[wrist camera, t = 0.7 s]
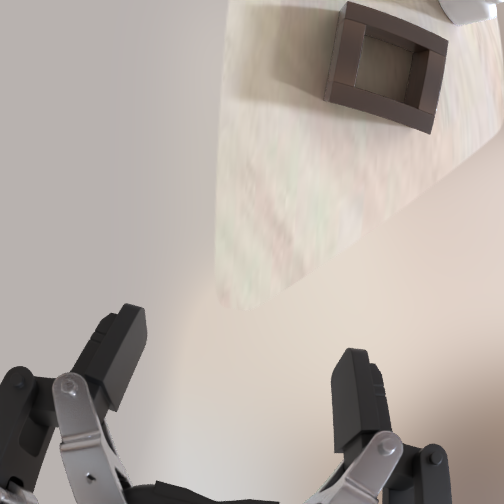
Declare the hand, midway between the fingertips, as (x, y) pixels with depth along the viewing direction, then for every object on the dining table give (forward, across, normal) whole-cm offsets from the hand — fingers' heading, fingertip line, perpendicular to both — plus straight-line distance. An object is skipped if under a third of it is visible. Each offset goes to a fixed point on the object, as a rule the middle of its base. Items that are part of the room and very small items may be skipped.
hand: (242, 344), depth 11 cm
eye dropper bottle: (+28, -18, -27) cm, 43 cm away
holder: (+27, -10, -14) cm, 32 cm away
